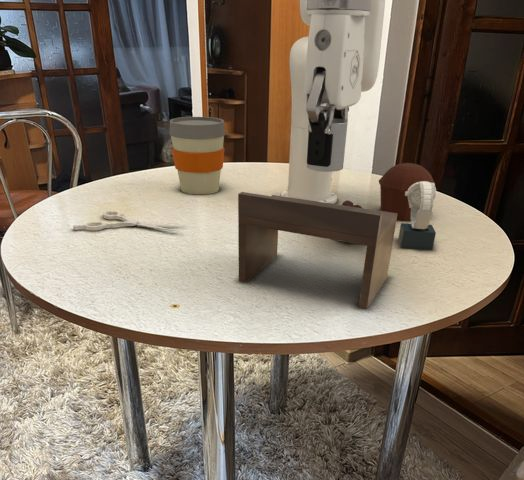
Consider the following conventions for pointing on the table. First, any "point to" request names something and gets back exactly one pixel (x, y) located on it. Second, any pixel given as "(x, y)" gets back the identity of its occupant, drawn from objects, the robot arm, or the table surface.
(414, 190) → the head sculpture
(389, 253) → the shelf
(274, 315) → the table surface
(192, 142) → the reusable coffee cup
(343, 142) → the grey upright cylinder
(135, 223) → the scissors
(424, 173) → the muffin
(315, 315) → the table surface
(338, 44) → the robot arm
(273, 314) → the table surface
